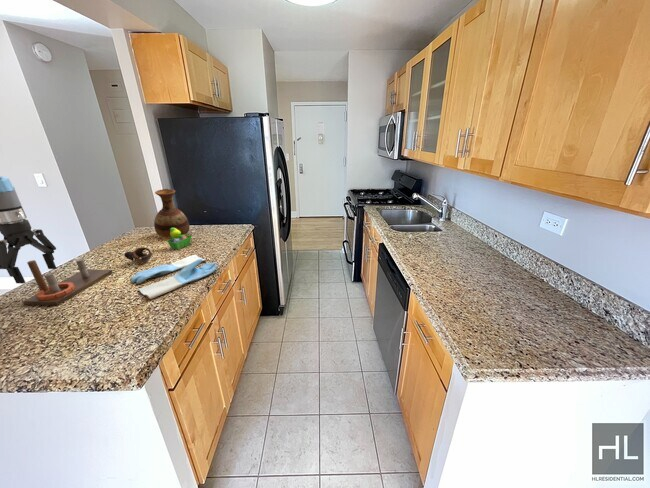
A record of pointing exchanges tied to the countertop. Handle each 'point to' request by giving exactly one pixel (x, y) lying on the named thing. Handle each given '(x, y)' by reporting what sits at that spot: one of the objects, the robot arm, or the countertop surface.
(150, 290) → the rubber gloves
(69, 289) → the ring
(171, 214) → the brown pottery vase
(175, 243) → the fruit basket
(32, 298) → the rack
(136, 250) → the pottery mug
